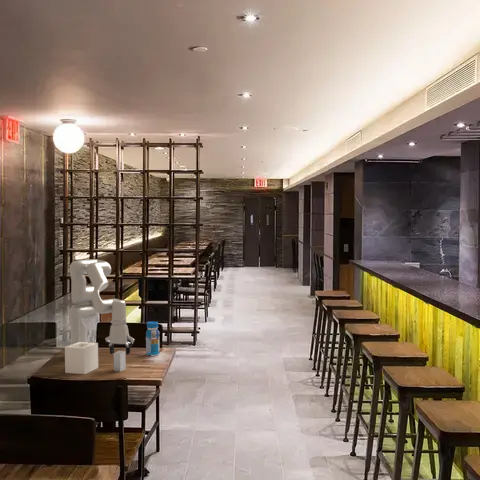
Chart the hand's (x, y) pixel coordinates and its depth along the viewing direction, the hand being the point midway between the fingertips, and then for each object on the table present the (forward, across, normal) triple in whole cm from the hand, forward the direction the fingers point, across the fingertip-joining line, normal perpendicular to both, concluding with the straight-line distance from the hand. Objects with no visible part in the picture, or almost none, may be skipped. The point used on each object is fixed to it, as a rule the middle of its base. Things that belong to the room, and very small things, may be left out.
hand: (120, 353), depth 322 cm
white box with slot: (+9, -21, -6) cm, 23 cm away
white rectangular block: (+9, -1, 0) cm, 9 cm away
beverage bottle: (+9, +1, +38) cm, 39 cm away
